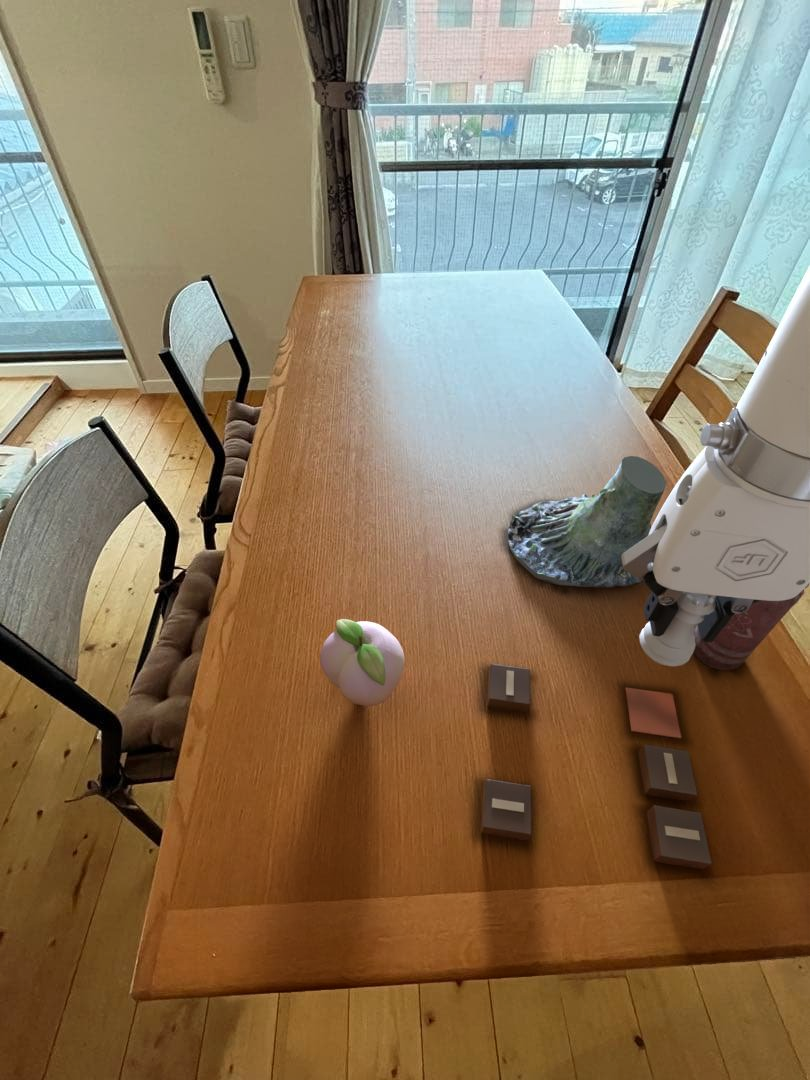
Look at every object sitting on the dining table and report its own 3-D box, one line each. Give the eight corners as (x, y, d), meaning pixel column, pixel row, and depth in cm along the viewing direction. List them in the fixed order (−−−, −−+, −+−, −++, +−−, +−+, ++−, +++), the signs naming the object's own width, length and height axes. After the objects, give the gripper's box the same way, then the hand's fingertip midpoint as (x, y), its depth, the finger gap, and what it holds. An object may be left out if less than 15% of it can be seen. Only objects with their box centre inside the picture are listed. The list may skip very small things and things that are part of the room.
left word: (527, 841, 52) (531, 834, 51) (480, 833, 53) (483, 826, 51) (526, 677, 64) (530, 668, 63) (488, 672, 64) (491, 662, 63)
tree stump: (528, 487, 88) (585, 396, 74) (642, 552, 85) (722, 469, 72) (486, 559, 76) (545, 465, 62) (617, 637, 73) (707, 557, 60)
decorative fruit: (420, 689, 63) (424, 640, 56) (365, 737, 59) (361, 691, 52) (366, 637, 67) (363, 586, 60) (312, 679, 64) (302, 629, 56)
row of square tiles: (707, 870, 51) (717, 864, 49) (649, 860, 51) (657, 854, 50) (671, 694, 63) (679, 685, 61) (625, 688, 63) (631, 678, 62)
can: (746, 679, 64) (812, 607, 54) (688, 663, 66) (743, 590, 56) (742, 638, 68) (803, 563, 58) (688, 623, 70) (738, 548, 60)
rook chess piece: (666, 620, 51) (700, 563, 46) (701, 659, 48) (742, 603, 43) (627, 635, 50) (657, 578, 44) (660, 676, 47) (696, 621, 42)
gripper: (662, 475, 32) (582, 651, 45) (970, 504, 30) (795, 676, 44) (640, 404, 37) (575, 580, 50) (903, 426, 36) (765, 601, 49)
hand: (678, 623), depth 47 cm, fingers closed on rook chess piece, 3 cm apart
